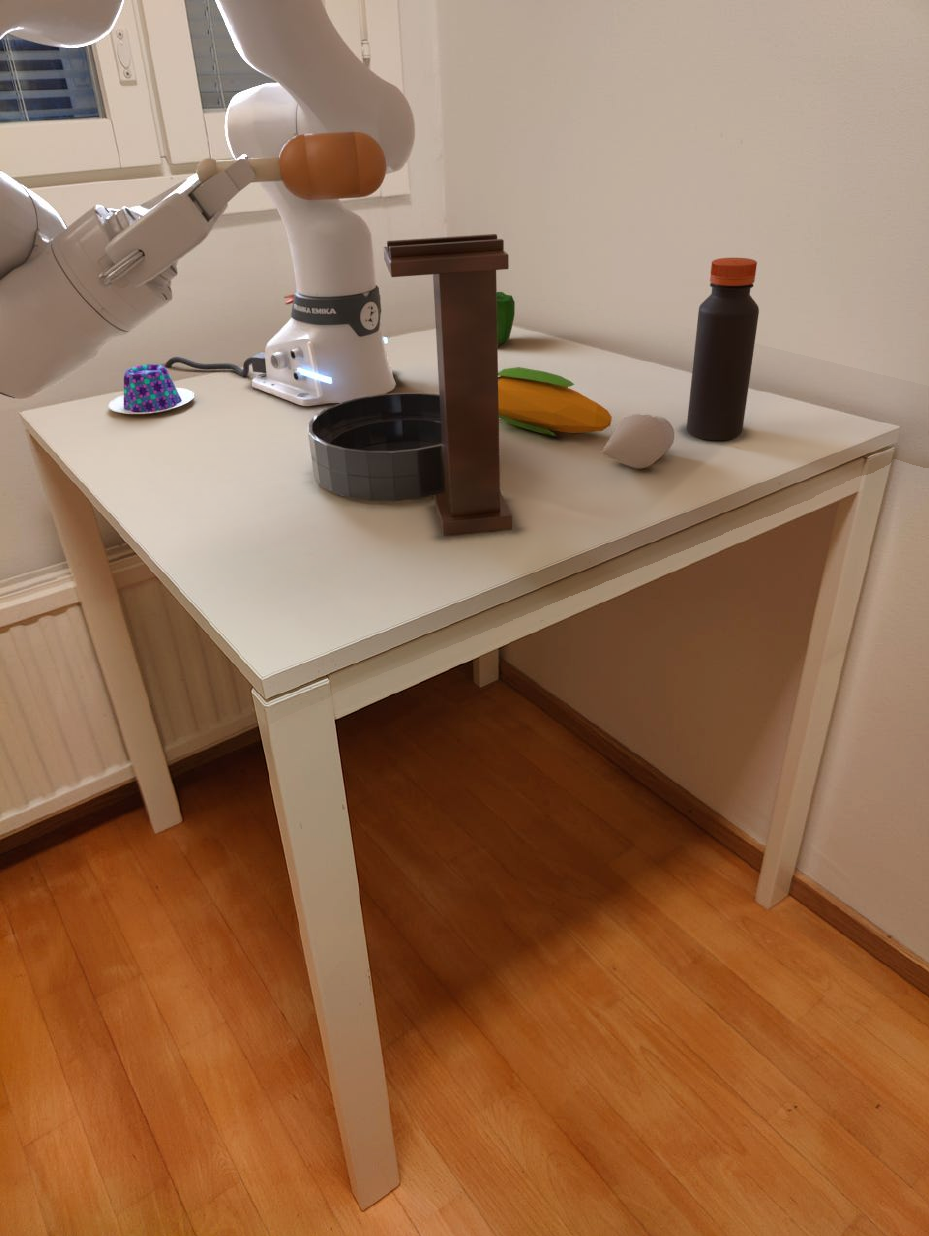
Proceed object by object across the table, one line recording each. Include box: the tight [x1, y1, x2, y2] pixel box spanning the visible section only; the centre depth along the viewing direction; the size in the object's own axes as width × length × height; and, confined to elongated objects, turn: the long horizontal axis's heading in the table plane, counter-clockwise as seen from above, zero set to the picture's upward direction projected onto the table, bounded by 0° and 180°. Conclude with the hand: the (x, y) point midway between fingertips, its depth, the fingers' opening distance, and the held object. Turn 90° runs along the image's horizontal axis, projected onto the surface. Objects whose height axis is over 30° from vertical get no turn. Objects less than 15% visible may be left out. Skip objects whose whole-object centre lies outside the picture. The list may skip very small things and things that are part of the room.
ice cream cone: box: [600, 413, 675, 470], centre depth 97 cm, size 6×6×15 cm
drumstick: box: [196, 132, 387, 200], centre depth 70 cm, size 15×5×5 cm, turn 99°
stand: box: [383, 233, 513, 537], centre depth 82 cm, size 10×8×27 cm
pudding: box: [108, 363, 195, 415], centre depth 124 cm, size 12×12×5 cm
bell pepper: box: [497, 291, 516, 346], centre depth 145 cm, size 8×8×10 cm
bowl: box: [307, 392, 445, 502], centre depth 100 cm, size 20×20×6 cm
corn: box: [498, 366, 613, 437], centre depth 109 cm, size 7×8×20 cm
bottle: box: [686, 257, 760, 441], centre depth 103 cm, size 7×7×20 cm
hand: (252, 164), depth 70 cm, fingers closed on drumstick
